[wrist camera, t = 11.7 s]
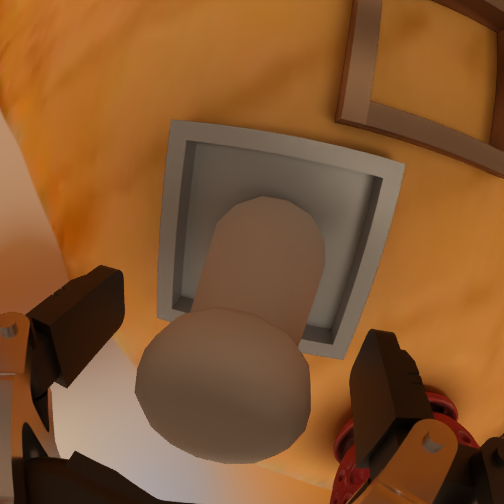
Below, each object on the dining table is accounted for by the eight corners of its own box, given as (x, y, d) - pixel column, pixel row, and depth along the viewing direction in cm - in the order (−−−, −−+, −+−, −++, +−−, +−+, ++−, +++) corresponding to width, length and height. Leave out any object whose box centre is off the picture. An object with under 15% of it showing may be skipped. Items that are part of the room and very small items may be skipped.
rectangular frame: (356, -37, 12) (363, -61, 9) (509, 27, 11) (532, 17, 8) (334, 122, 16) (341, 118, 13) (497, 176, 15) (523, 184, 12)
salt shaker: (240, 173, 17) (97, 271, 5) (338, 211, 17) (405, 386, 5) (210, 264, 19) (97, 436, 7) (298, 298, 19) (279, 502, 7)
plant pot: (331, 468, 26) (327, 565, 15) (325, 389, 22) (324, 529, 11) (446, 447, 24) (467, 535, 12) (476, 360, 19) (530, 472, 8)
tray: (188, 121, 17) (171, 119, 15) (392, 160, 16) (405, 163, 14) (171, 299, 21) (157, 318, 19) (340, 337, 20) (343, 359, 18)
